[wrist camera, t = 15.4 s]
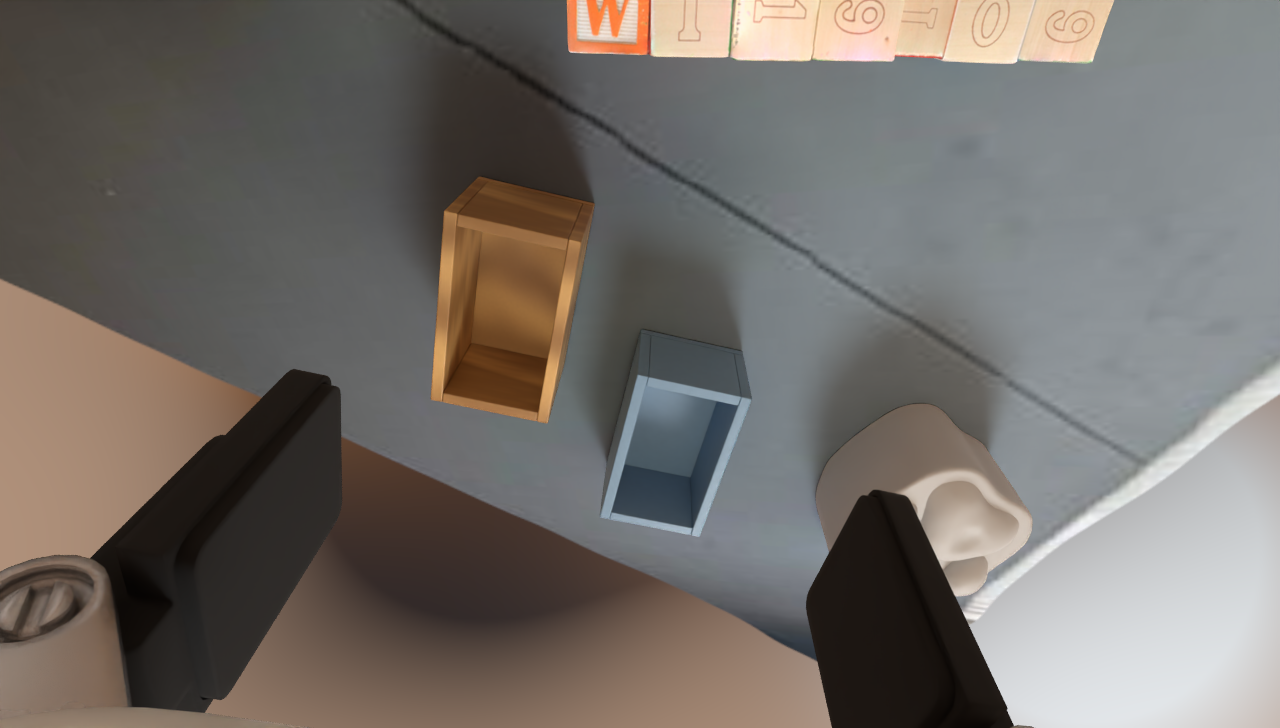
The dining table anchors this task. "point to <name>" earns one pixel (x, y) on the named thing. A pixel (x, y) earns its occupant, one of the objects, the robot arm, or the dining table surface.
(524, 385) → the wooden basket
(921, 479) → the lumpy-topped squat cylinder
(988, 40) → the stack of blocks
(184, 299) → the dining table surface
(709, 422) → the blue basket
